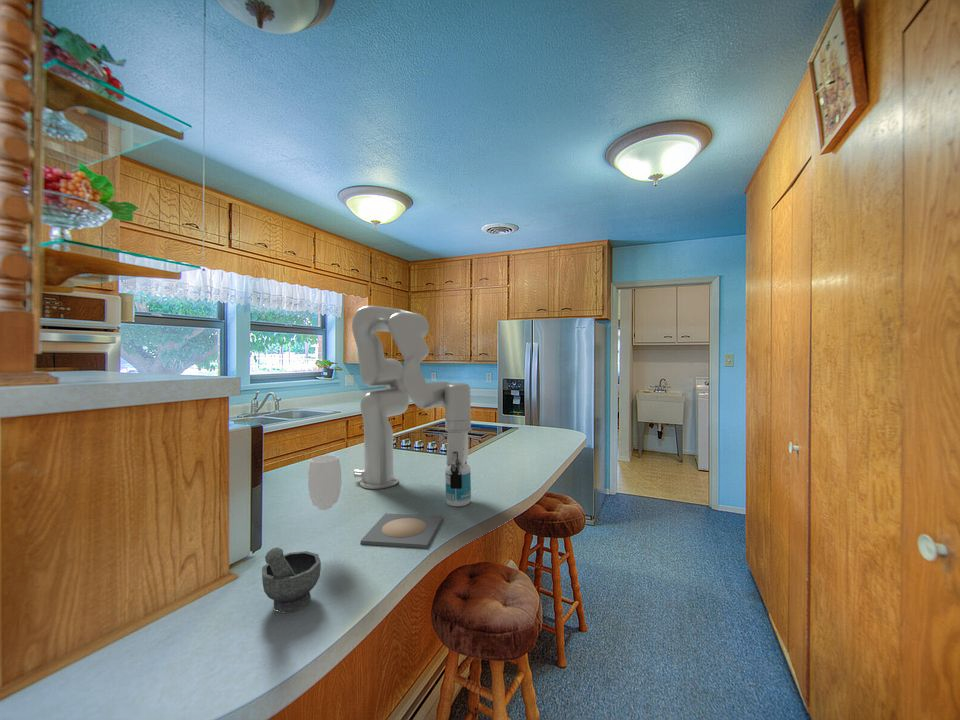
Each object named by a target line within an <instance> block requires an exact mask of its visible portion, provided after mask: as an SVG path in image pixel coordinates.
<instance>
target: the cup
mask: <svg viewBox="0 0 960 720" xmlns="http://www.w3.org/2000/svg"><path fill="white" fill-rule="evenodd" d="M308 463H309V464H308V471H307V489H308V493H309V499H310V501H311V503H312V505H313V506H314V507H316V508H317V509H319V510H321V511H327V510H329V509H331V508H332V507H333V505H335V504H337V502H338V501H339V497H340V494H341V490H342V489H341V488H342V467H341V464H340V463H341V462H340V457H339V456H337V455H331V454H328V455H318V456H315V457H312V458H311V459H310V460H309V462H308Z"/></svg>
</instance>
